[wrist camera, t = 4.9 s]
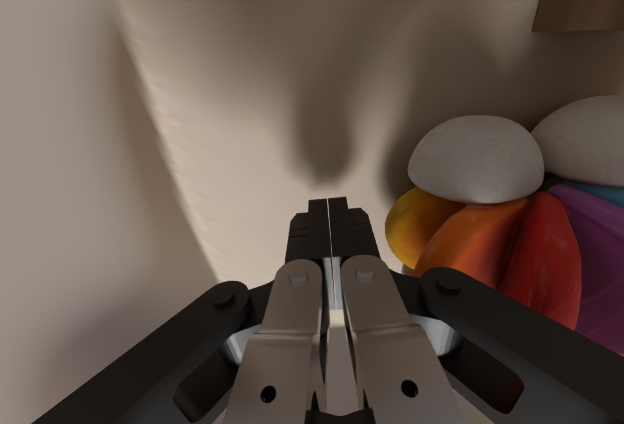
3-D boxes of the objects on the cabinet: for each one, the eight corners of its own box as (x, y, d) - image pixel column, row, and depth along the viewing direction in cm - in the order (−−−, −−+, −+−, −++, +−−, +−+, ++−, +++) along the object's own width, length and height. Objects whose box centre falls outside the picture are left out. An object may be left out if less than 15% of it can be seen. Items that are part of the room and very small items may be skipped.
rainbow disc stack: (374, 118, 11) (450, 229, 4) (654, 76, 10) (1246, 145, 3) (380, 275, 15) (421, 439, 9) (571, 258, 14) (766, 428, 8)
